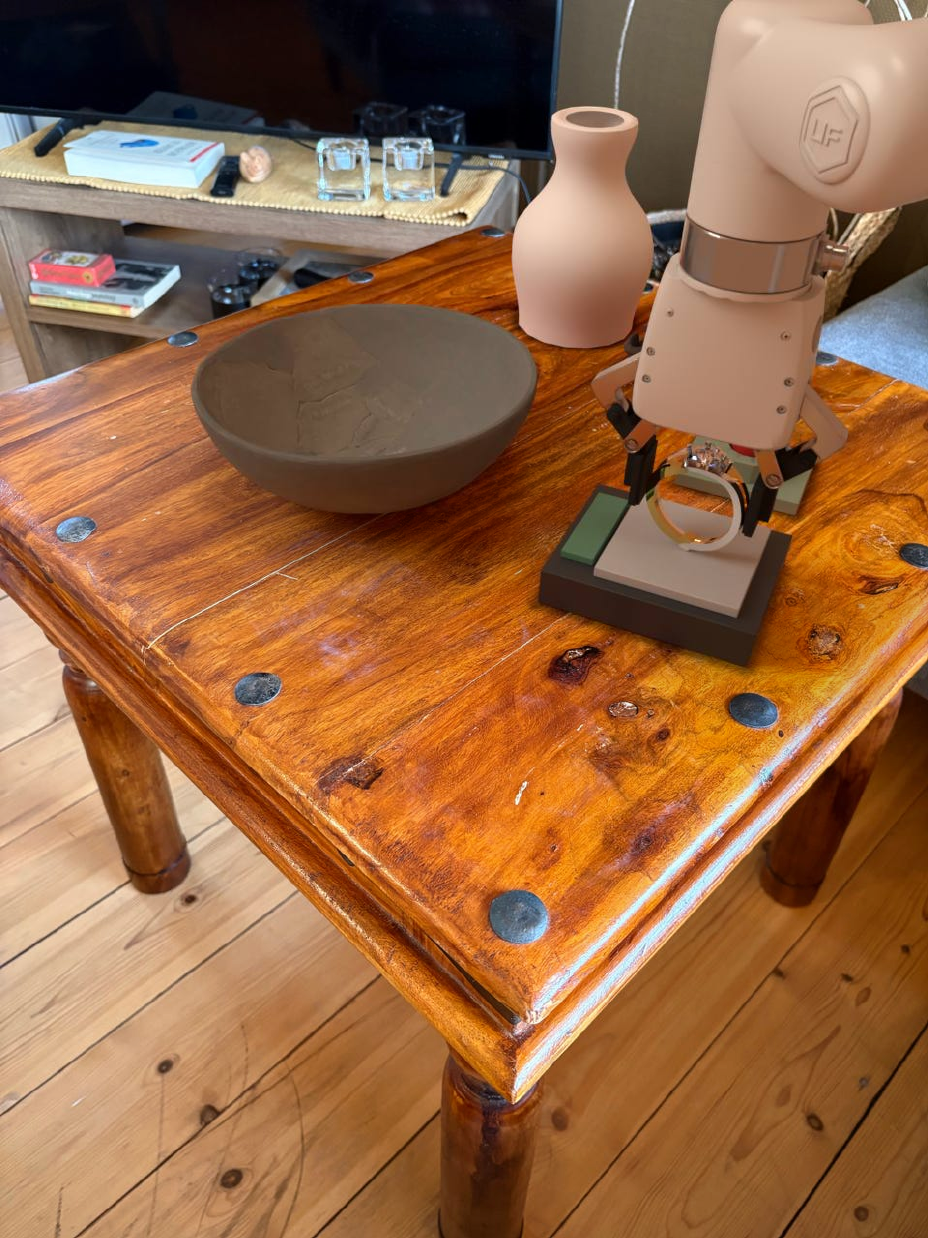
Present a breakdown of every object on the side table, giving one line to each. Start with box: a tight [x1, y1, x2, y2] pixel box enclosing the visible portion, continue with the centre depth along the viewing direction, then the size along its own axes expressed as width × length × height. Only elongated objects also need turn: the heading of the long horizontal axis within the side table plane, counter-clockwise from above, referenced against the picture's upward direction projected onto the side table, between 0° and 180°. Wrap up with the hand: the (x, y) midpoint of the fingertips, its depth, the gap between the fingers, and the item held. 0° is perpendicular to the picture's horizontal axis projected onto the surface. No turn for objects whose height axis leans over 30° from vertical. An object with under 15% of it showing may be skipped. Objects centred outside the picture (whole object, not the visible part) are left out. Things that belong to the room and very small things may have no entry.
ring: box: [645, 441, 750, 551], centre depth 67 cm, size 7×3×8 cm, turn 51°
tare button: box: [732, 444, 755, 458], centre depth 81 cm, size 3×3×2 cm
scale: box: [537, 483, 793, 668], centre depth 71 cm, size 15×12×4 cm
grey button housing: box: [673, 436, 814, 517], centre depth 82 cm, size 10×8×3 cm
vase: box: [511, 105, 655, 349], centre depth 98 cm, size 14×14×20 cm
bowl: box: [190, 302, 538, 514], centre depth 79 cm, size 26×26×10 cm
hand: (694, 508), depth 67 cm, fingers closed on ring, 7 cm apart
